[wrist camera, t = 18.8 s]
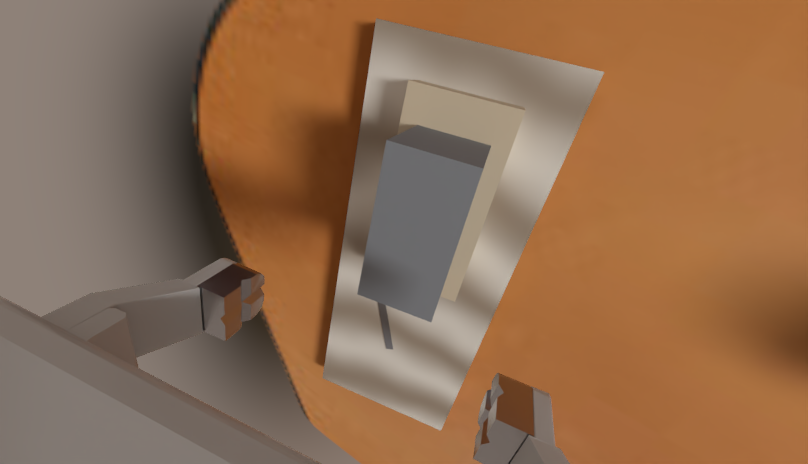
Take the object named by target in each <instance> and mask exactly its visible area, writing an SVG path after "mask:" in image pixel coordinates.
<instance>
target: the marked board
mask: <svg viewBox="0 0 808 464" xmlns="http://www.w3.org/2000/svg"><path fill="white" fill-rule="evenodd" d="M603 74H604V72H602V71H597V70H593V69H589V68H585V67H580V66H576V65H572V64H568V63H563V62H559V61H555V60H551V59H546V58H542V57H538V56H534V55H529V54H525V53H521V52H517V51H512V50H508V49H504V48H500V47H495V46H491V45H487V44H483V43H478V42H474V41H470V40H466V39H461V38H457V37H453V36H449V35H444V34H440V33H436V32H432V31H427V30H423V29H419V28H415V27H410V26H406V25H402V24H398V23H393V22H389V21H385V20H381V19H376V23H375V29H374V36H373V43H372V50H371V56H370V63H369V70H368V77H367V83H366V90H365V97H364V103H363V110H362V117H361V124H360V130H359V137H358V144H357V150H356V157H355V164H354V171H353V177H352V184H351V191H350V197H349V204H348V211H347V218H346V224H345V231H344V238H343V245H342V251H341V258H340V265H339V271H338V278H337V285H336V292H335V298H334V305H333V312H332V318H331V325H330V332H329V339H328V345H327V352H326V359H325V365H324V372H323V378H324V379H326V380H328V381H330V382H333V383H335V384H337V385H339V386H342V387H344V388H346V389H348V390H351V391H353V392H355V393H357V394H360V395H362V396H364V397H366V398H369V399H371V400H373V401H375V402H378V403H380V404H382V405H384V406H387V407H389V408H391V409H393V410H396V411H398V412H400V413H402V414H405V415H407V416H409V417H411V418H414V419H416V420H418V421H420V422H423V423H425V424H427V425H429V426H432V427H434V428H436V429H438V430H441V429H442V427H443V425H444V423H445V420H446V418H447V416H448V414H449V412H450V409H451V407H452V405H453V403H454V401H455V398H456V396H457V394H458V392H459V390H460V387H461V385H462V383H463V381H464V379H465V376H466V374H467V372H468V370H469V368H470V365H471V363H472V361H473V359H474V357H475V355H476V352H477V350H478V348H479V346H480V344H481V341H482V339H483V337H484V335H485V333H486V330H487V328H488V326H489V324H490V322H491V319H492V317H493V315H494V313H495V311H496V308H497V306H498V304H499V302H500V300H501V297H502V295H503V293H504V291H505V289H506V287H507V284H508V282H509V280H510V278H511V276H512V273H513V271H514V269H515V267H516V265H517V262H518V260H519V258H520V256H521V254H522V251H523V249H524V247H525V245H526V243H527V240H528V238H529V236H530V234H531V232H532V229H533V227H534V225H535V223H536V221H537V219H538V216H539V214H540V212H541V210H542V208H543V205H544V203H545V201H546V199H547V197H548V194H549V192H550V190H551V188H552V186H553V183H554V181H555V179H556V177H557V175H558V172H559V170H560V168H561V166H562V164H563V161H564V159H565V157H566V155H567V153H568V150H569V148H570V146H571V144H572V142H573V140H574V137H575V135H576V133H577V131H578V129H579V126H580V124H581V122H582V120H583V118H584V115H585V113H586V111H587V109H588V107H589V104H590V102H591V100H592V98H593V96H594V93H595V91H596V89H597V87H598V85H599V82H600V80H601V78H602V76H603ZM408 80H421V81H425V82H428V83H432V84H436V85H440V86H444V87H448V88H452V89H455V90H459V91H463V92H467V93H471V94H475V95H479V96H483V97H486V98H490V99H494V100H498V101H502V102H506V103H510V104H513V105H517V106H521V107H525V110H526V111H525V113H524V116H523V119H522V122H521V124H520V127H519V130H518V132H517V135H516V138H515V140H514V143H513V146H512V149H511V151H510V154H509V157H508V159H507V162H506V165H505V168H504V170H503V173H502V176H501V178H500V181H499V184H498V187H497V189H496V192H495V195H494V197H493V200H492V203H491V206H490V208H489V211H488V214H487V216H486V219H485V222H484V225H483V227H482V230H481V233H480V235H479V238H478V241H477V244H476V246H475V249H474V252H473V254H472V257H471V260H470V263H469V265H468V268H467V271H466V273H465V276H464V279H463V282H462V284H461V287H460V290H459V292H458V295H457V298H456V300H455V302H454V301H451V300H449V299H446V298H443V297H440V298H439V301H438V304H437V307H436V310H435V313H434V316H433V319H432V322H429V321H426V320H423V319H421V318H418V317H416V316H413V315H410V314H408V313H405V312H402V311H400V310H397V309H395V308H392V307H389V306H387V305H384V304H381V303H379V302H376V301H374V300H371V299H368V298H366V297H363V296H360V295H358V294H357V293H358V287H359V282H360V277H361V272H362V266H363V261H364V256H365V250H366V245H367V240H368V235H369V229H370V224H371V219H372V214H373V208H374V203H375V198H376V192H377V187H378V182H379V177H380V171H381V166H382V161H383V156H384V150H385V145H386V140H387V139H390V138H392V137H394V136H396V135H397V133H398V129H399V124H400V119H401V114H402V109H403V104H404V99H405V94H406V89H407V84H408Z"/></svg>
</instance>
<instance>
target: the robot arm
mask: <svg viewBox="0 0 808 464" xmlns="http://www.w3.org/2000/svg"><path fill="white" fill-rule="evenodd" d="M263 285H264V275H262V274H261V273H259V272H257V271H255V270H252V269H250V268H248V267H246V266H243V265H241V264H239V263H236V262H234V261H232V260H229V259H227V258H221V259H219V260H217V261H216V262H214V263H212V264H210V265H209V266H207V267H205V268H203V269H202V270H200V271H198V272H196V273H194V274H193V275H191V276H189V277H188V278H186V279H184V280H181V279H174V280H168V281H162V282H156V283H150V284H144V285H138V286H132V287H126V288H120V289H114V290H108V291H103V292H96V293H90V294H88V295H86V296H84V297H82V298H80V299H78V300H76V301H74V302H71V303H69V304H67V305H65V306H63V307H61V308H59V309H57V310H55V311H53V312H51V313H49V314H47V315H44V316H42V317H40V316H38V315H36V314H34V313H32V312H30V311H28V310H26V309H24V308H22V307H21V306H19V305H17V304H15V303H13V302H11V301H9V300H7V299H5V298H3V297H1V296H0V464H321V463H319V462H317V461H315V460H313V459H311V458H309V457H308V456H306V455H304V454H302V453H300V452H298V451H296V450H294V449H292V448H290V447H288V446H286V445H284V444H283V443H281V442H279V441H277V440H275V439H273V438H271V437H269V436H267V435H265V434H263V433H262V432H260V431H257V430H256V429H254V428H252V427H250V426H248V425H246V424H244V423H242V422H240V421H238V420H237V419H235V418H233V417H231V416H229V415H227V414H225V413H223V412H221V411H219V410H217V409H215V408H214V407H212V406H210V405H208V404H206V403H204V402H202V401H200V400H198V399H196V398H194V397H192V396H191V395H189V394H187V393H185V392H183V391H181V390H179V389H177V388H175V387H173V386H172V385H169V384H168V383H166V382H164V381H162V380H160V379H158V378H156V377H154V376H152V375H150V374H149V373H146V372H145V371H143V370H141V369H139V368H138V364H137V360H136V357H139V356H142V355H145V354H147V353H150V352H153V351H155V350H158V349H161V348H163V347H166V346H169V345H171V344H174V343H177V342H180V341H182V340H185V339H188V338H190V337H193V336H196V335H198V334H201V333H203V331H204V332H206V333H208V334H211V335H213V336H215V337H218V338H220V339H222V340H224V341H226V340H227V339H229V338H230V337H231V336H232V335H233V334H234V333H236V332H237V331H238V330H239V329H240V328H241V324H242V322H243V321H247V320H250V319H252V318H253V317H254V316H255V315H256V314H257V313H258V311H259V310H260V308H261V307H262V304H263V301H264V293H263V291H262V289H261V286H263ZM478 424H479V426H480V430H479V432H478V434H477V435H476V440H475V448H474V456H473V459H475V460H477V461H479V462H481V463H483V464H570V463H569V462H568V460H567V459H566V457H565V455H564V454H563V452H562V450H561V449H559V448H557V447H555V438H554V427H553V416H552V405H551V397H550V395H549V393H546V392H544V391H542V390H539V389H537V388H534V387H530V386H529V385H527V384H524V383H522V382H519V381H517V380H514V379H512V378H509V377H507V376H505V375H502V374H500V373H497V374H496V375H495V377H494V379H493V381H492V388H491V390H488V391H487V392H486V395H485V397H484V399H483V402H482V405H481V408H480V413H479V418H478Z"/></svg>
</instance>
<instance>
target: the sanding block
mask: <svg viewBox="0 0 808 464" xmlns="http://www.w3.org/2000/svg"><path fill="white" fill-rule="evenodd" d="M525 111H526V110H525V107H521V106H517V105H513V104H510V103H506V102H502V101H498V100H494V99H490V98H486V97H483V96H479V95H475V94H471V93H467V92H463V91H459V90H455V89H452V88H448V87H444V86H440V85H436V84H432V83H428V82H425V81H421V80H408V84H407V89H406V94H405V99H404V104H403V109H402V114H401V119H400V124H399V129H398V133H397V135H396V136H394V137H392V138H390V139H387V140H386V145H385V150H384V156H383V161H382V166H381V171H380V177H379V182H378V187H377V192H376V198H375V203H374V208H373V214H372V219H371V224H370V229H369V235H368V240H367V245H366V250H365V256H364V261H363V266H362V272H361V277H360V282H359V287H358V293H357V294H358V295H360V296H363V297H366V298H368V299H371V300H374V301H376V302H379V303H381V304H384V305H387V306H389V307H392V308H395V309H397V310H400V311H402V312H405V313H408V314H410V315H413V316H416V317H418V318H421V319H423V320H426V321H429V322H432V319H433V316H434V313H435V310H436V307H437V304H438V301H439V298H440V297H443V298H446V299H449V300H451V301H454V302H455V300H456V298H457V295H458V292H459V290H460V287H461V284H462V282H463V279H464V276H465V273H466V271H467V268H468V265H469V263H470V260H471V257H472V254H473V252H474V249H475V246H476V244H477V241H478V238H479V235H480V233H481V230H482V227H483V225H484V222H485V219H486V216H487V214H488V211H489V208H490V206H491V203H492V200H493V197H494V195H495V192H496V189H497V187H498V184H499V181H500V178H501V176H502V173H503V170H504V168H505V165H506V162H507V159H508V157H509V154H510V151H511V149H512V146H513V143H514V140H515V138H516V135H517V132H518V130H519V127H520V124H521V122H522V119H523V116H524V113H525Z"/></svg>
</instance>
